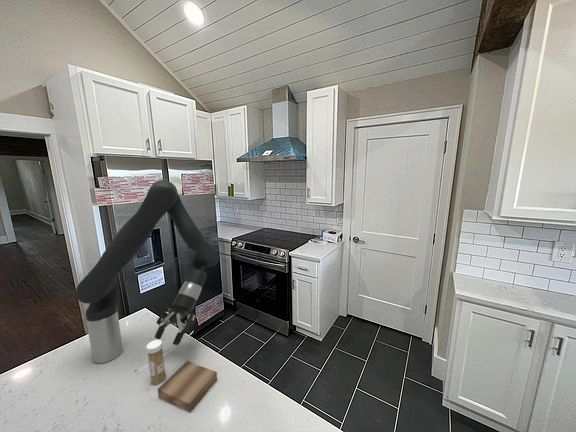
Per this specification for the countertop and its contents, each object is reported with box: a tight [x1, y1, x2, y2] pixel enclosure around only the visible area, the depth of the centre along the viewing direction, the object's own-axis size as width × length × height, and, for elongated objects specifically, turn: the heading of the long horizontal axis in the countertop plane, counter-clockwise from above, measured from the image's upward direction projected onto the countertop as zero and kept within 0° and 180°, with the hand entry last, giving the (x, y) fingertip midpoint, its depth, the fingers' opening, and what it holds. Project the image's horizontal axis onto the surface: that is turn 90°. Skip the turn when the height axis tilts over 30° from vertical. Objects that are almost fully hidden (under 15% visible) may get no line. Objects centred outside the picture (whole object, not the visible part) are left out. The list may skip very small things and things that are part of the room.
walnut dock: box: [157, 360, 218, 413], centre depth 75 cm, size 13×12×3 cm
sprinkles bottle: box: [146, 339, 167, 385], centre depth 78 cm, size 5×5×14 cm
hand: (165, 341), depth 81 cm, fingers open, 8 cm apart
